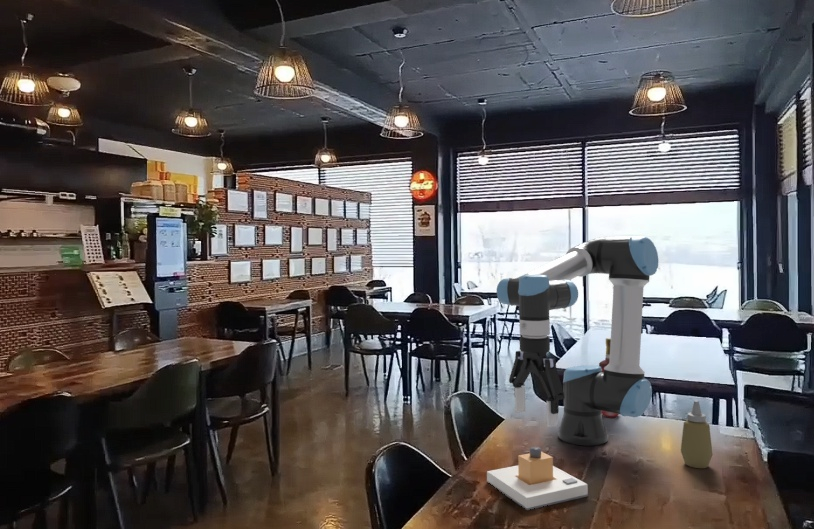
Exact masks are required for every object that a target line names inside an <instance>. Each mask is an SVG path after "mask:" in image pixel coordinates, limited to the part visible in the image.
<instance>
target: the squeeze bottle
mask: <svg viewBox="0 0 814 529" xmlns="http://www.w3.org/2000/svg"><path fill="white" fill-rule="evenodd" d="M706 416H707V415H706V414H705V413H702V410H701V407H700V401H699V400H694V401H693V404H692V409H691V411H690V412H687V416H686V417H687V419H686V420H685V421H683V426H682V434H681V444H680V453H681V455H682V456H681V457H682V459H683V460H684V464H685V465H686V466H688V467H690V468H695V469H706V468H709V465H710V463H711V460H712V459H713V458H712V457H713V455H714V454H713V447H712V436H711V428H710V423H708V422H707V417H706Z"/></svg>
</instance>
